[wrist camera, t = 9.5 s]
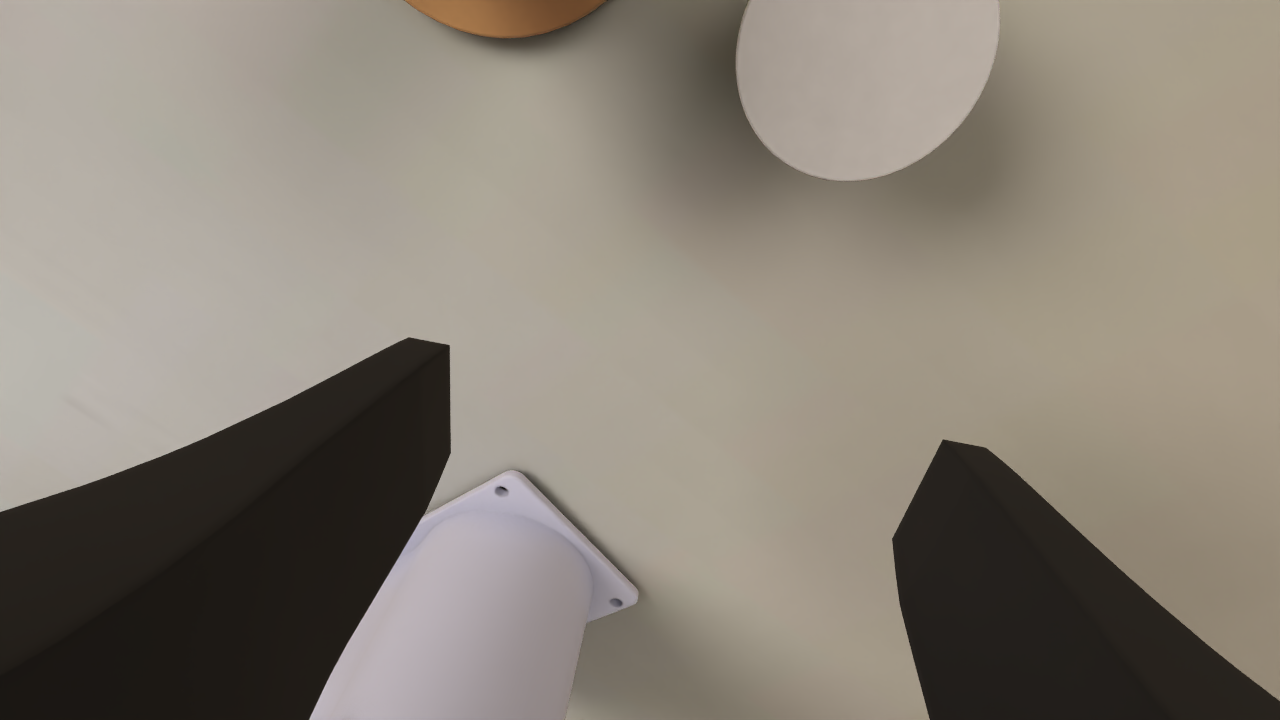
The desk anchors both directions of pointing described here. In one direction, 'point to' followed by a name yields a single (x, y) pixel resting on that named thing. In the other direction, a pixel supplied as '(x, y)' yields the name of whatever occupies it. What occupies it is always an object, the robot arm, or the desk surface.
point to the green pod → (862, 79)
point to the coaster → (506, 15)
